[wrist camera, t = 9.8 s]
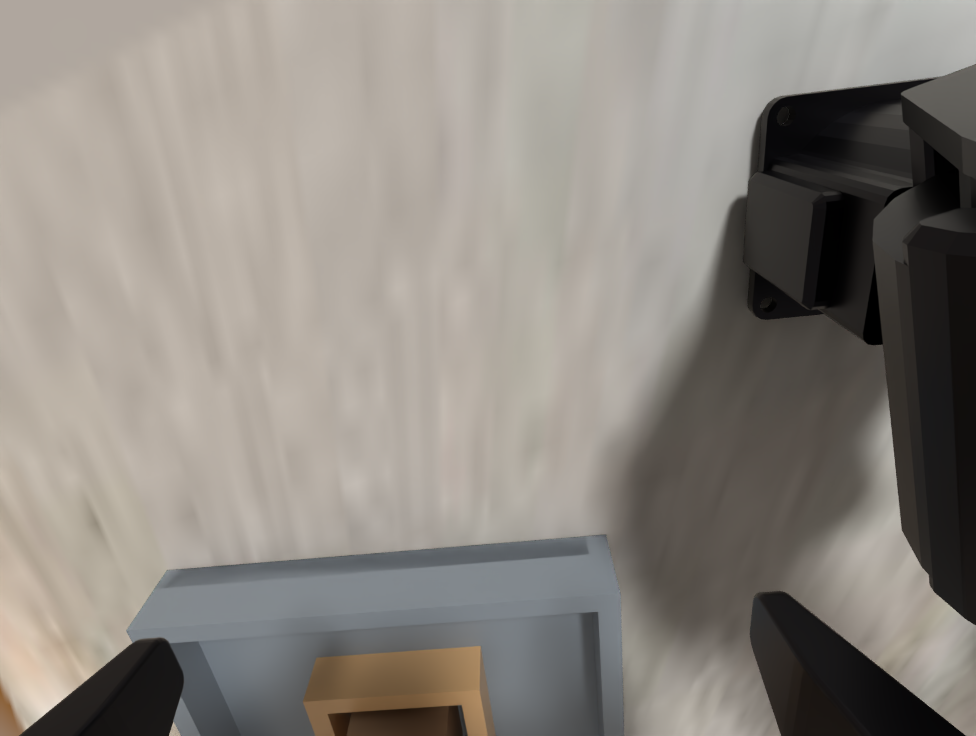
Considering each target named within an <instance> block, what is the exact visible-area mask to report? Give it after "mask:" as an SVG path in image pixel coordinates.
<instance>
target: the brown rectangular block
mask: <svg viewBox="0 0 976 736" xmlns="http://www.w3.org/2000/svg"><path fill="white" fill-rule="evenodd" d="M346 736H463V730H462V725H461V720H460V715H459V710H458V705H453V706H438V707H422V708H407V709H392V710H377V711H361V712H352V714H351V718H350V722H349V727H348V731H347V735H346Z"/></svg>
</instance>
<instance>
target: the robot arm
mask: <svg viewBox="0 0 976 736" xmlns="http://www.w3.org/2000/svg"><path fill="white" fill-rule="evenodd" d="M785 106H786V107H787V109H788V110H789V117H788V119H787V121H786V122H785V123H784V124H781V125H779V124H778V123H777V118H776V117H777V114H778V112H779V111H780V109H781V108H783V107H785ZM743 262H744V263H745V264H746V265H747V266H748V267H749V268H750V277H749V290H748V308H749V309H750V311H751V312H752V313H753V314H754V315H755V316H756V317H758V318H760V319H765V320H769V319H779V318H789V317H799V316H809V315H819V314H825V315H827V316H828V317H830V318H831V319H832V320H834V321H835V322H837V323H838V324H840V325H841V326H842V327H844V328H845V329H847V330H848V331H850V332H851V333H853V334H854V335H855V336H857V337H858V338H860V339H861V340H863V341H864V342H865V343H867V344H870V345H882V344H883V349H884V358H885V368H886V378H887V388H888V398H889V408H890V418H891V427H892V437H893V447H894V457H895V467H896V477H897V487H898V496H899V506H900V516H901V526H902V531H903V533H904V535H905V537H906V539H907V540H908V542H909V544H910V546H911V548H912V550H913V552H914V553H915V555H916V557H917V559H918V561H919V563H920V565H921V566H922V568H923V569H924V570H925V571H926V572H927V573H928V574H929V583H930V586H931V588H932V589H933V591H934V592H935V593H936V594H937V595H939V596H940V597H941V598H942V599H943V600H944V601H945V602H947V603H948V604H949V605H950V606H951V607H952V608H953V609H955V610H956V611H957V612H958V613H959V614H960V615H961V616H963V617H964V618H965V619H966V620H968V621H970V622H971V623H973V624H975V625H976V64H975V65H972V66H969V67H967V68H964V69H961V70H959V71H956V72H953V73H951V74H948V75H945V76H942V77H934V78H926V79H917V80H909V81H901V82H893V83H885V84H876V85H868V86H860V87H852V88H844V89H835V90H827V91H819V92H811V93H802V94H794V95H786V96H780V97H777V98H774V99H773V100H772V101H770V102H769V103H768V104H767V106H766V107H765V109H764V110H763V114H762V119H761V132H760V145H759V158H758V172H756V173H755V174H754V175H753V176H752V178H751V179H750V180H749V183H748V197H747V211H746V225H745V239H744V254H743ZM768 297H771V299H772V300H771V303H770V304H769V305H768V306H767V307H765V308H761V307H760V305H761V302H762V301H763V300H764V299H765V298H768ZM750 639H751V644H752V648H753V652H754V655H755V658H756V661H757V664H758V667H759V670H760V673H761V676H762V679H763V682H764V685H765V688H766V691H767V694H768V697H769V700H770V703H771V706H772V709H773V712H774V715H775V718H776V721H777V724H778V727H779V731H780V734H781V736H965V735H964V734H963V733H962V732H960V731H959V730H958V729H957V728H955V727H954V726H953V725H952V724H950V723H949V722H948V721H947V720H945V719H944V718H943V717H942V716H940V715H939V714H938V713H937V712H935V711H934V710H933V709H932V708H930V707H929V706H928V705H927V704H925V703H924V702H923V701H922V700H920V699H919V698H918V697H917V696H915V695H914V694H913V693H912V692H910V691H909V690H908V689H907V688H905V687H904V686H903V685H902V684H900V683H899V682H898V681H897V680H895V679H894V678H893V677H892V676H890V675H889V674H888V673H887V672H885V671H884V670H883V669H882V668H880V667H879V666H878V665H877V664H875V663H874V662H873V661H872V660H870V659H869V658H868V657H867V656H865V655H864V654H863V653H862V652H860V651H859V650H858V649H857V648H855V647H854V646H853V645H851V644H850V643H849V642H848V641H846V640H845V639H844V638H843V637H841V636H840V635H839V634H838V633H836V632H835V631H834V630H833V629H831V628H830V627H829V626H828V625H826V624H825V623H824V622H823V621H821V620H820V619H819V618H818V617H816V616H815V615H814V614H813V613H811V612H810V611H809V610H808V609H806V608H805V607H804V606H803V605H801V604H800V603H799V602H798V601H796V600H795V599H794V598H793V597H791V596H790V595H789V594H787V593H785V592H782V591H773V592H760V593H757V594H756V595H755V597H754V599H753V607H752V617H751V626H750ZM183 686H184V673H183V670H182V668H181V666H180V664H179V661H178V659H177V657H176V655H175V653H174V651H173V649H172V647H171V645H170V643H169V641H168V640H166V639H165V638H162V637H157V638H144V639H139V640H137V641H135V642H133V643H132V644H131V645H129V646H128V647H127V648H126V649H124V650H123V651H122V652H121V653H120V654H118V655H117V656H116V657H115V658H113V659H112V660H111V661H110V662H109V663H107V664H106V665H105V666H104V667H102V668H101V669H100V670H99V671H98V672H96V673H95V674H94V675H93V676H91V677H90V678H89V679H88V680H87V681H85V682H84V683H83V684H82V685H80V686H79V687H78V688H77V689H76V690H74V691H73V692H72V693H71V694H69V695H68V696H67V697H66V698H65V699H63V700H62V701H61V702H60V703H58V704H57V705H56V706H55V707H54V708H52V709H51V710H50V711H49V712H47V713H46V714H45V715H44V716H43V717H41V718H40V719H39V720H38V721H36V722H35V723H34V724H33V725H32V726H30V727H29V728H28V729H27V730H25V731H24V732H23V733H22V734H21V735H19V736H169V733H170V730H171V727H172V724H173V720H174V717H175V714H176V710H177V707H178V704H179V701H180V697H181V694H182V691H183Z"/></svg>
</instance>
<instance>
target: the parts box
mask: <svg viewBox="0 0 976 736" xmlns="http://www.w3.org/2000/svg"><path fill="white" fill-rule="evenodd" d="M126 631H127V633H128V635H129V637H130V639H131V641H132V643H133V642H135V641H137V640H139V639H144V638H157V637H162V638H165V639H166V640H168V641H169V643H170V645H171V647H172V649H173V651H174V653H175V655H176V657H177V659H178V661H179V664H180V666H181V668H182V670H183V673H184V686H183V691H182V694H181V697H180V701H179V704H178V707H177V710H176V714H175V717H174V720H173V721H174V723H175V725H176V727H177V729H178V731H179V732H180V734H181V736H346V735H347V731H348V727H349V722H350V718H351V714H352V712H361V711H377V710H392V709H407V708H422V707H438V706H453V705H458V710H459V715H460V720H461V725H462V730H463V736H624V711H623V672H622V632H621V593H620V589H619V585H618V581H617V577H616V573H615V569H614V565H613V561H612V557H611V553H610V549H609V545H608V541H607V537H606V535H596V536H584V537H572V538H560V539H547V540H535V541H523V542H510V543H498V544H486V545H473V546H461V547H449V548H436V549H424V550H412V551H400V552H387V553H375V554H363V555H350V556H338V557H326V558H313V559H301V560H289V561H276V562H264V563H252V564H240V565H227V566H215V567H203V568H190V569H178V570H167V571H166V572H165V574H164V575H163V577H162V578H161V580H160V581H159V583H158V584H157V586H156V587H155V589H154V590H153V592H152V593H151V595H150V596H149V598H148V599H147V601H146V602H145V604H144V605H143V607H142V608H141V610H140V611H139V612H138V614H137V615H136V617H135V618H134V620H133V621H132V623H131V624H130V626H129V627H128V629H127V630H126Z"/></svg>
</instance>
